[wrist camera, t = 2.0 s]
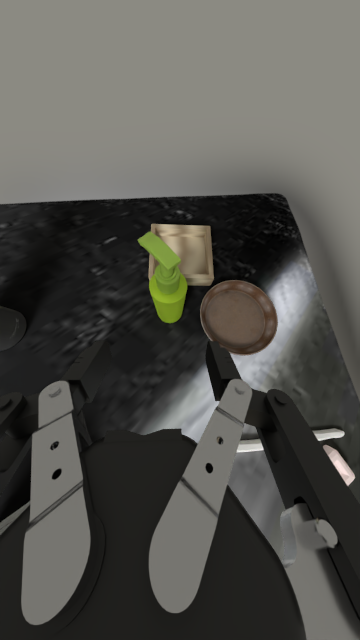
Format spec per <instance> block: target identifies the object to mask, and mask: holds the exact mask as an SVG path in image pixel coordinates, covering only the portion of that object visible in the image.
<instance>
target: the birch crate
mask: <svg viewBox="0 0 360 640" xmlns="http://www.w3.org/2000/svg"><path fill="white" fill-rule="evenodd" d="M151 232H152V233H153V234H155V235H156V236H158V237H159V238H160V239H161V240H162V241H163V242H165V243H166V244H167V245H168V246H169V247H170V248H171V249H172V250H173V252H174V253H175V254H176V255H177V256H178V257H179V258H180V259H181V263H180V264H179V265H177V266H178V268H179V270H180V273H181V274H182V275H183V276H184V277H185V279H186V281H187V285H198V286H210V285H211V283H212V281H213V279H214V274H213V259H212V245H211V231H210V226H195V225H167V224H151ZM159 264H160V263H159V262H158V261H157V260H156V259H155V258H154V257H153V256H152V255H151V254H150V259H149V280H151V278H152V276H153V275H154V274H155V269H156V267H157V266H158V265H159Z"/></svg>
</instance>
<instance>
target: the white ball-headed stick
mask: <svg viewBox="0 0 360 640" xmlns="http://www.w3.org/2000/svg"><path fill="white" fill-rule="evenodd" d="M313 433H314V435H315V436H316V438H317V439H318V441H320V440H325V439H330V438H340V437H342V436H344V434H345V433H344V431H341V430H338V429H335V428H334V429H326V430H317V431H313ZM258 450H264V449H263V446H262V443H261V440H260V439H254V440H240V442H239V445H238V449H237V452H248V451H258Z"/></svg>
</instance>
